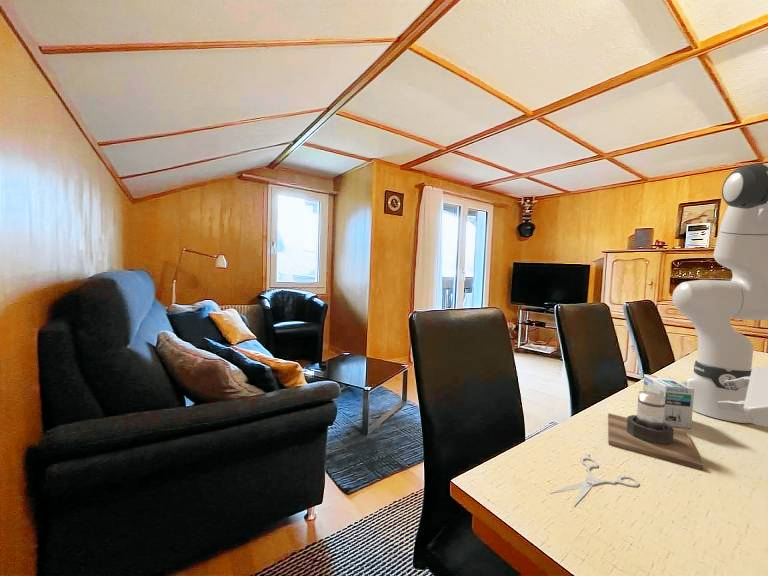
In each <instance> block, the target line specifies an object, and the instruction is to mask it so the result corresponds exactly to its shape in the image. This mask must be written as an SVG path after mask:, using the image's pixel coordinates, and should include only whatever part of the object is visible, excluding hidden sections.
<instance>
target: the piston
mask: <svg viewBox="0 0 768 576" xmlns="http://www.w3.org/2000/svg"><path fill="white" fill-rule="evenodd" d="M637 395H638V397H637V409H636V410H637V411H636V412H637V413H636V415H637V421H636V423H637V424H639V425H642V426H644V427H647V428H651V429H656V430H663V424H664V411H665V399H666V397H665V396H663V395H661V394H658V393H654V392H649V391H643V390H640V391H638V394H637Z"/></svg>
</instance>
